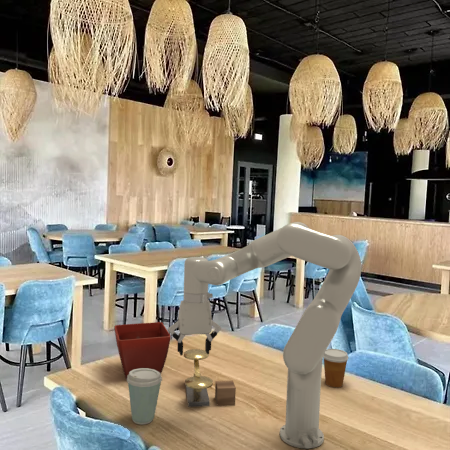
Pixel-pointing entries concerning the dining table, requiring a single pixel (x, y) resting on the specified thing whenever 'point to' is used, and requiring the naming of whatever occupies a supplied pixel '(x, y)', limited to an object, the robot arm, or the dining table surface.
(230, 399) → the walnut block
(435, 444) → the dining table surface
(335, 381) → the disposable coffee cup
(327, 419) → the dining table surface
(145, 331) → the plant pot
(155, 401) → the disposable coffee cup
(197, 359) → the balance
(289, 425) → the robot arm
